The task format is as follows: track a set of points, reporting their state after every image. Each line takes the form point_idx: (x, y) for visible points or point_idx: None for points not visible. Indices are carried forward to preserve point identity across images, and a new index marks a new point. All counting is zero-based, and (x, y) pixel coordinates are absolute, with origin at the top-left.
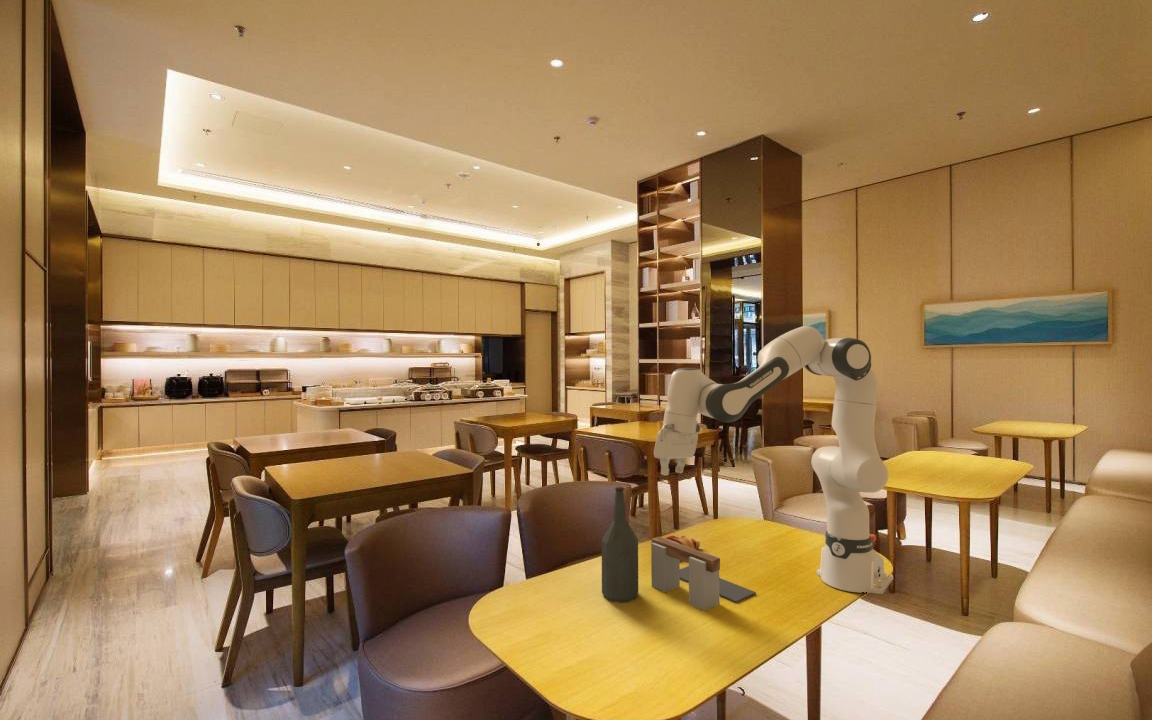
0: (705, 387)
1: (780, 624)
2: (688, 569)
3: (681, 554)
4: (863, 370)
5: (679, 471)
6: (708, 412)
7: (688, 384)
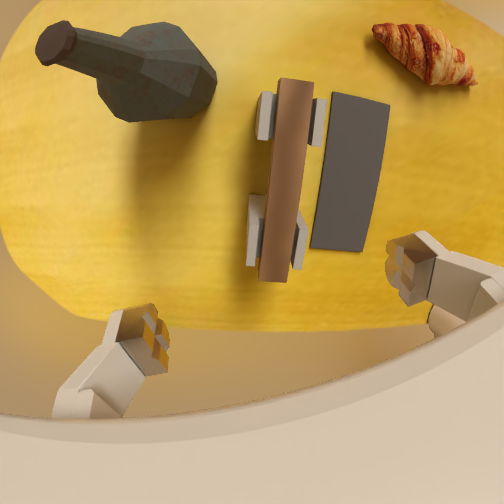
0: None
1: (291, 313)
2: (374, 112)
3: (268, 188)
4: None
5: (391, 274)
6: None
7: None
